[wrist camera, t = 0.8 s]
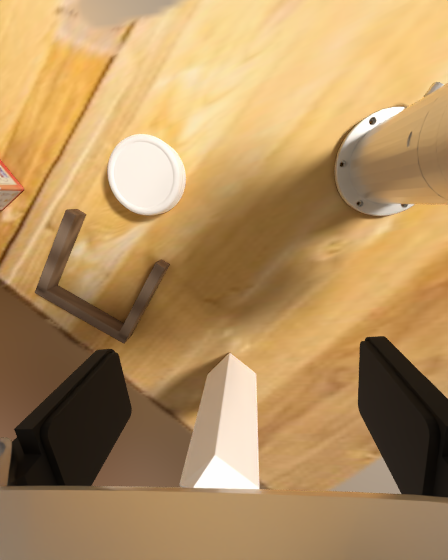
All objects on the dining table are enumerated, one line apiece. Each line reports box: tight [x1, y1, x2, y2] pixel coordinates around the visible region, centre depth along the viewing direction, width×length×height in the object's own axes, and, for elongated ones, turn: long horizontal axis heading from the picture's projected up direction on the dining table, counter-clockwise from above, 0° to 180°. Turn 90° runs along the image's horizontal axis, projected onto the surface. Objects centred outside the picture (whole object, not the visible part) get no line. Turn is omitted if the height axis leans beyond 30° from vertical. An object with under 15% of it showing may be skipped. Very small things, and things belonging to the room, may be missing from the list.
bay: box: [35, 209, 170, 343], centre depth 41 cm, size 15×16×2 cm
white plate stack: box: [107, 134, 186, 215], centre depth 36 cm, size 10×10×4 cm
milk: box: [180, 353, 259, 489], centre depth 35 cm, size 6×6×22 cm
